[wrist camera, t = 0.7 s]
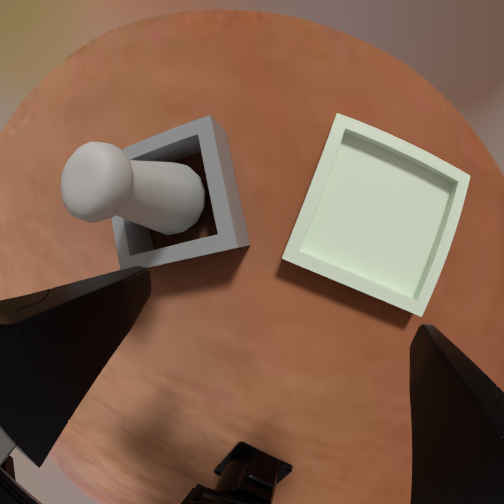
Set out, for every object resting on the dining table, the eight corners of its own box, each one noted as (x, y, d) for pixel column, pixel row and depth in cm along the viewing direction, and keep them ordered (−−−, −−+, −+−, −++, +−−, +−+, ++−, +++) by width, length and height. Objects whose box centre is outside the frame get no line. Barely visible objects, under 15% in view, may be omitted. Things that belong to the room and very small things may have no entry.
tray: (414, 310, 22) (421, 316, 20) (284, 256, 24) (281, 258, 22) (460, 179, 20) (470, 176, 19) (335, 121, 22) (336, 113, 21)
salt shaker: (193, 246, 26) (91, 259, 13) (144, 215, 26) (34, 206, 14) (226, 186, 25) (142, 145, 12) (174, 158, 25) (74, 111, 13)
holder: (250, 245, 25) (238, 247, 21) (146, 268, 27) (121, 273, 23) (225, 131, 24) (210, 115, 20) (129, 165, 26) (104, 157, 23)
